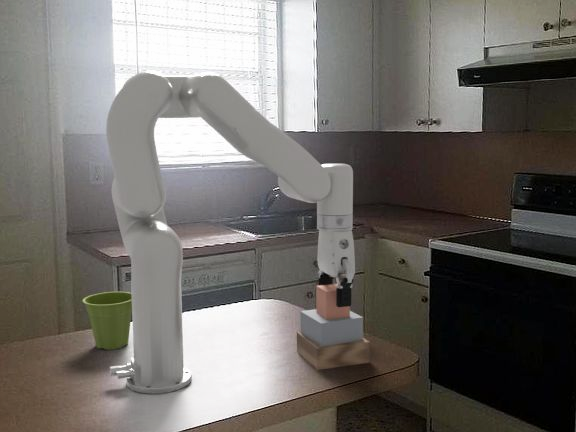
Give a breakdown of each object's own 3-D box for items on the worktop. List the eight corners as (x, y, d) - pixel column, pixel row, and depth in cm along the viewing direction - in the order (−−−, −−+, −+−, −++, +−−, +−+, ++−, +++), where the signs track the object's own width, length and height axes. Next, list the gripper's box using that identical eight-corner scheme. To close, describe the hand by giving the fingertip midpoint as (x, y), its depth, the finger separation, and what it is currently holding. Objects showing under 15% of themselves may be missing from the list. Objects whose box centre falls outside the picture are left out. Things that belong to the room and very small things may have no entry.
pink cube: (325, 319, 140) (325, 291, 139) (316, 312, 145) (316, 285, 144) (349, 316, 141) (349, 289, 141) (339, 310, 146) (339, 283, 146)
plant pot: (120, 333, 161) (118, 288, 159) (147, 345, 153) (146, 297, 151) (75, 345, 153) (72, 297, 151) (101, 357, 144) (99, 307, 143)
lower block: (317, 372, 137) (317, 348, 136) (296, 353, 148) (296, 331, 147) (369, 364, 141) (369, 341, 140) (345, 346, 152) (345, 325, 151)
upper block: (321, 346, 137) (321, 323, 137) (300, 333, 146) (300, 311, 146) (362, 339, 142) (363, 317, 141) (340, 327, 151) (340, 305, 150)
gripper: (369, 227, 133) (368, 309, 136) (334, 215, 150) (334, 289, 152) (334, 229, 131) (334, 313, 133) (303, 217, 147) (303, 292, 149)
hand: (334, 300), depth 143 cm, fingers open, 9 cm apart
